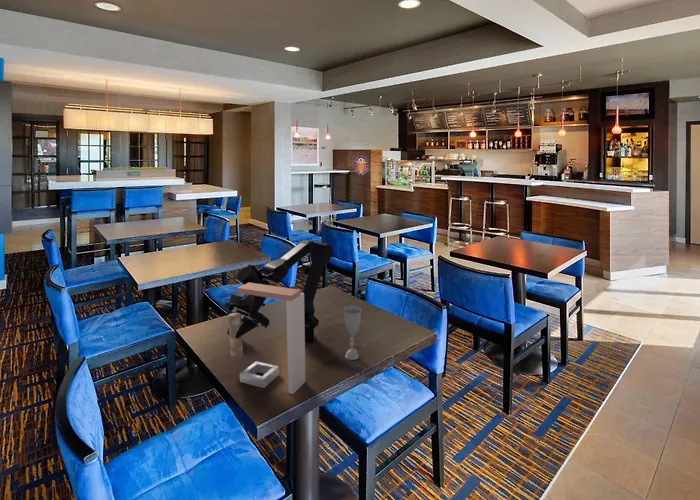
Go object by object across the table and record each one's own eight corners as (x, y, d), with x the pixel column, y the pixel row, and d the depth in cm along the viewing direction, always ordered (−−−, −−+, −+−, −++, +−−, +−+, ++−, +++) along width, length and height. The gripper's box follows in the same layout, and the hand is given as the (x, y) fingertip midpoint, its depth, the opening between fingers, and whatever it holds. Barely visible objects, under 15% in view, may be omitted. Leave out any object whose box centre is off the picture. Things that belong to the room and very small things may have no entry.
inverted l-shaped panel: (256, 370, 145) (252, 280, 138) (305, 381, 139) (304, 288, 132) (242, 381, 138) (237, 287, 131) (292, 394, 131) (290, 295, 124)
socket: (256, 369, 146) (255, 361, 145) (279, 374, 143) (278, 366, 142) (240, 382, 138) (239, 373, 137) (263, 387, 135) (263, 379, 134)
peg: (244, 351, 146) (242, 312, 143) (241, 357, 143) (239, 317, 139) (232, 351, 146) (230, 312, 143) (229, 356, 143) (226, 317, 139)
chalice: (342, 352, 159) (342, 306, 155) (360, 351, 160) (361, 305, 156) (343, 361, 152) (343, 313, 148) (362, 360, 153) (363, 313, 149)
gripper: (226, 278, 148) (199, 317, 142) (261, 290, 136) (233, 333, 130) (246, 294, 156) (221, 332, 150) (280, 306, 144) (255, 348, 138)
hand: (232, 336), depth 142 cm, fingers closed on peg, 4 cm apart
